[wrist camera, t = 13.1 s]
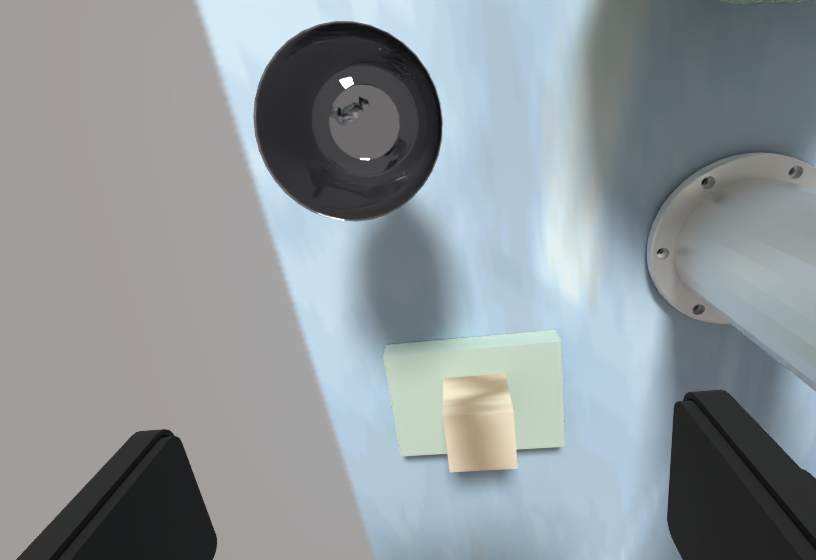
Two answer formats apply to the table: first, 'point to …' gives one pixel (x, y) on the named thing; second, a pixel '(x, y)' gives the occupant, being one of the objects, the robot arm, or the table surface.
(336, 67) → the wine glass
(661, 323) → the table surface
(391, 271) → the table surface
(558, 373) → the sage board
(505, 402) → the birch cube
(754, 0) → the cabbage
